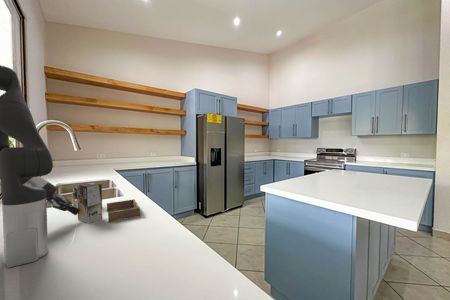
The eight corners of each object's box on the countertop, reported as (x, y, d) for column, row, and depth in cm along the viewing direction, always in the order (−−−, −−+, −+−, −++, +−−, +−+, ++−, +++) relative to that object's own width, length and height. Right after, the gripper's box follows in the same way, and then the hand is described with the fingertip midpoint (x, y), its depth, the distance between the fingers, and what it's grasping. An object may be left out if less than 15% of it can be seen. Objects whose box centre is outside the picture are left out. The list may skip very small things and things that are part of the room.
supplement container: (77, 213, 95) (77, 189, 95) (69, 209, 101) (68, 186, 100) (100, 207, 104) (100, 185, 104) (91, 203, 110) (91, 183, 109)
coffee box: (103, 218, 88) (102, 183, 88) (87, 223, 82) (87, 186, 82) (92, 215, 92) (91, 181, 92) (76, 219, 87) (76, 184, 86)
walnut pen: (139, 216, 91) (139, 207, 91) (108, 222, 84) (108, 213, 84) (134, 206, 105) (134, 199, 105) (107, 211, 98) (106, 203, 98)
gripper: (44, 184, 73) (84, 210, 81) (51, 179, 85) (85, 202, 92) (24, 200, 71) (68, 225, 78) (34, 192, 82) (72, 215, 89)
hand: (77, 212), depth 85 cm, fingers closed
